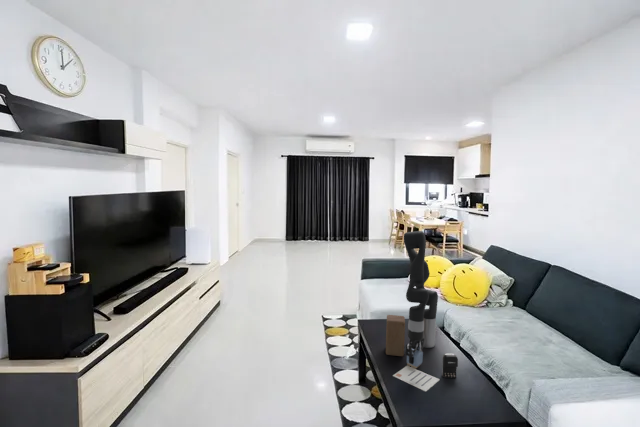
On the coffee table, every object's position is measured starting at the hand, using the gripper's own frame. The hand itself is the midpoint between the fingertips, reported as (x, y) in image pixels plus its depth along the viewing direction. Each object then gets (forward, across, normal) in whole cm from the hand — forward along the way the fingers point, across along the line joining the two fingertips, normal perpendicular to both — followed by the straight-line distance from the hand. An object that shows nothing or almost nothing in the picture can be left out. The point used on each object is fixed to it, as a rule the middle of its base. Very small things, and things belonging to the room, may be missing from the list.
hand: (414, 361), depth 170 cm
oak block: (+8, -10, -6) cm, 14 cm away
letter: (+8, 0, +1) cm, 8 cm away
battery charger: (+8, -13, +12) cm, 20 cm away
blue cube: (+1, 0, 0) cm, 1 cm away
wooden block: (+8, -15, -21) cm, 27 cm away
